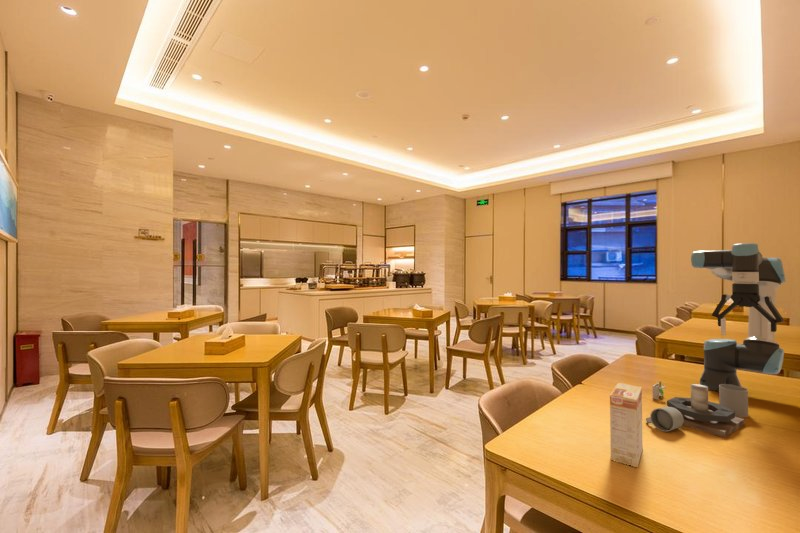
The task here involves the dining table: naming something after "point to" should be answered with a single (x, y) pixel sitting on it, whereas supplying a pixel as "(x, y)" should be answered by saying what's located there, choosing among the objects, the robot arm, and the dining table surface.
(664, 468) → the dining table surface
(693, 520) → the dining table surface
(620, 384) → the coffeecake box
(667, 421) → the ceramic mug
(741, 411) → the cup
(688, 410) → the ring
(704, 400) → the pipe stand
